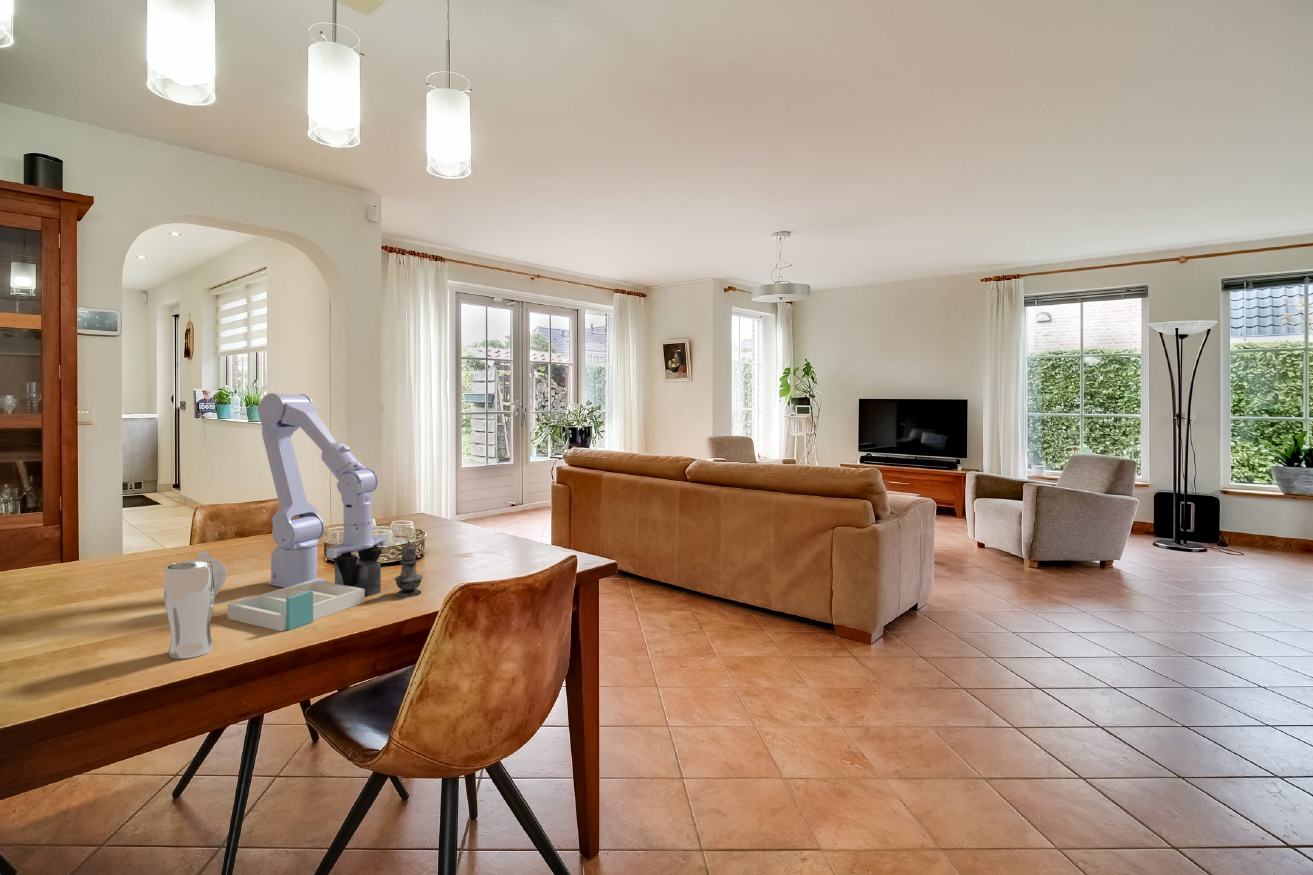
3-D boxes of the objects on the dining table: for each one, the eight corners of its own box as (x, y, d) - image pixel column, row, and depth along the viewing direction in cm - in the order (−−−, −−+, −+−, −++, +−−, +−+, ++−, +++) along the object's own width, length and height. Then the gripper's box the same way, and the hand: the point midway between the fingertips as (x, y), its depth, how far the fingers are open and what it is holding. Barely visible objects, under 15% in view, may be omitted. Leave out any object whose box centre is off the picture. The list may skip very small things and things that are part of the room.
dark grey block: (334, 590, 142) (334, 560, 141) (347, 586, 145) (347, 556, 145) (368, 596, 138) (368, 565, 138) (380, 592, 141) (380, 562, 141)
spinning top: (236, 607, 129) (236, 549, 128) (198, 619, 122) (198, 557, 121) (210, 602, 131) (209, 545, 131) (171, 613, 124) (170, 553, 123)
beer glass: (182, 644, 109) (181, 559, 109) (225, 644, 110) (224, 559, 109) (154, 660, 102) (153, 570, 102) (199, 660, 103) (198, 570, 102)
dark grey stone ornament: (412, 598, 138) (413, 544, 137) (388, 596, 139) (389, 542, 138) (427, 590, 143) (428, 538, 143) (404, 588, 144) (404, 536, 144)
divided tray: (227, 618, 122) (227, 588, 122) (314, 592, 140) (314, 565, 139) (284, 632, 116) (284, 600, 116) (367, 602, 134) (367, 575, 133)
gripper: (343, 530, 132) (343, 593, 133) (396, 519, 146) (395, 577, 147) (319, 527, 135) (319, 589, 136) (373, 516, 149) (373, 573, 149)
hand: (357, 582), depth 141 cm, fingers open, 4 cm apart
